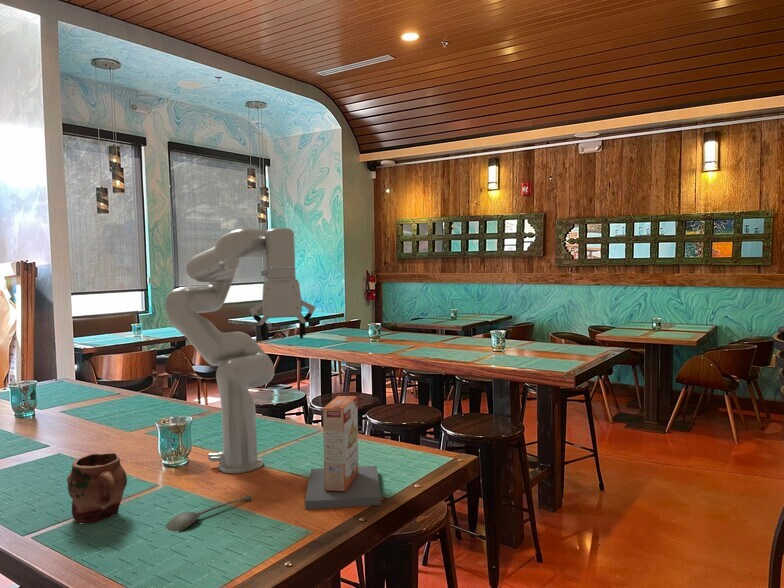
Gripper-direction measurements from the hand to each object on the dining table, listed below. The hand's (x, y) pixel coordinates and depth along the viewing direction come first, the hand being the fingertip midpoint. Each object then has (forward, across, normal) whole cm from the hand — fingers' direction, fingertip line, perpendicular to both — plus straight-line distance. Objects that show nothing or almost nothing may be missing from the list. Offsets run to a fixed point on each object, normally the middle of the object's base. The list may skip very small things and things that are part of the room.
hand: (283, 338), depth 158 cm
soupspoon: (+39, -16, -21) cm, 47 cm away
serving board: (+38, +15, -10) cm, 42 cm away
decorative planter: (+38, -42, -19) cm, 60 cm away
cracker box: (+36, +15, -10) cm, 41 cm away
